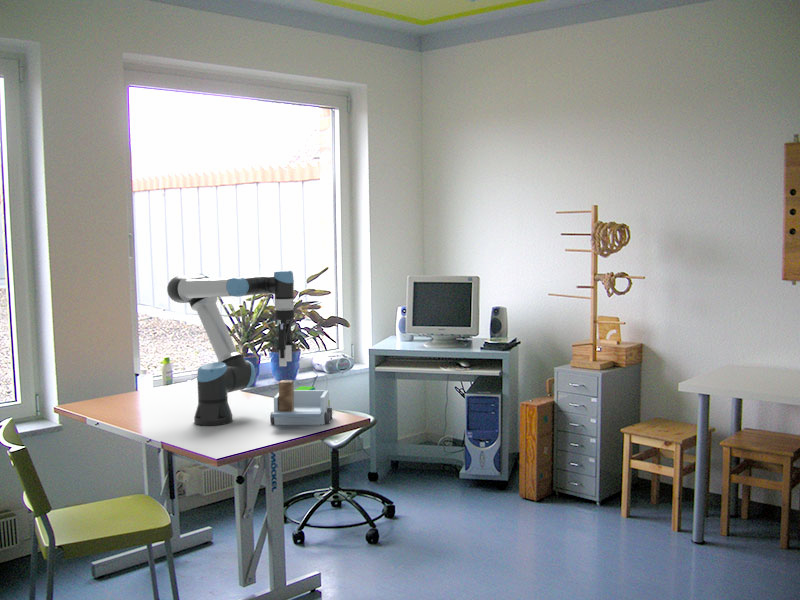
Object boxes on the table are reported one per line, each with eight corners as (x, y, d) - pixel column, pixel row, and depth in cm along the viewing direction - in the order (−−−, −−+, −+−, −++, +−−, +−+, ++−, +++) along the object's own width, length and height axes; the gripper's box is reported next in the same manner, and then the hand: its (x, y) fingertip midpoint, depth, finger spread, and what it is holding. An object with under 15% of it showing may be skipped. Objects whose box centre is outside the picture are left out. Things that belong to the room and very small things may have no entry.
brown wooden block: (279, 412, 306) (278, 382, 305) (281, 409, 311) (281, 380, 310) (291, 412, 306) (291, 382, 305) (293, 409, 311) (293, 380, 310)
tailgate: (274, 415, 304) (270, 418, 296) (274, 411, 304) (270, 414, 296) (322, 415, 304) (319, 418, 296) (322, 411, 304) (319, 414, 296)
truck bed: (270, 424, 306) (269, 397, 305) (277, 416, 320) (276, 390, 319) (328, 424, 305) (328, 397, 304) (332, 416, 319) (332, 390, 319)
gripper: (288, 312, 293) (289, 368, 295) (298, 306, 316) (299, 358, 318) (269, 312, 293) (270, 368, 295) (280, 306, 317) (281, 359, 318)
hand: (285, 363), depth 307 cm, fingers open, 11 cm apart
